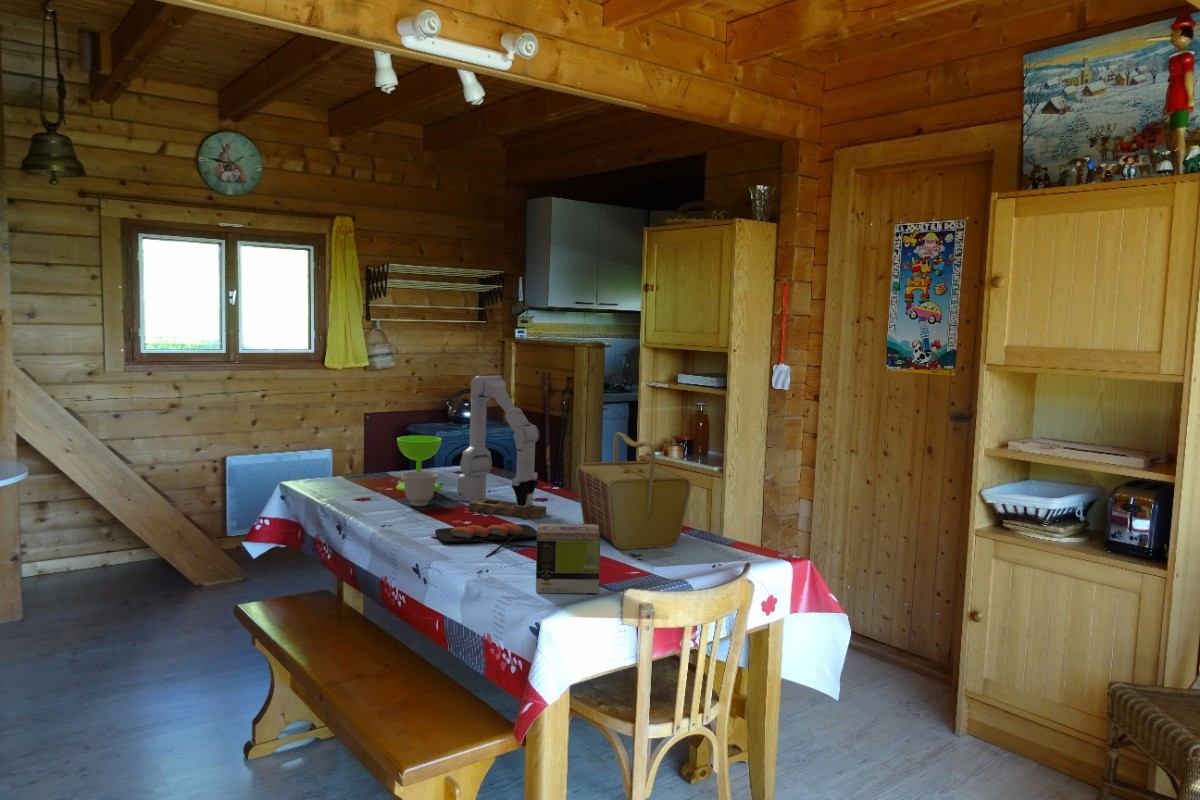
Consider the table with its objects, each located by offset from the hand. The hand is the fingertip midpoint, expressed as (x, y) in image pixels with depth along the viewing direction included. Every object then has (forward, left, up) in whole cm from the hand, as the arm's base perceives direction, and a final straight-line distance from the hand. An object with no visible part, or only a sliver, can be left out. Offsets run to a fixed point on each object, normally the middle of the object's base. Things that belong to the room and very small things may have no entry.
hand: (524, 504), depth 280 cm
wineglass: (-52, +19, -4) cm, 55 cm away
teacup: (-37, -3, -4) cm, 37 cm away
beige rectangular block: (0, 0, -3) cm, 3 cm away
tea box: (+42, -63, -4) cm, 76 cm away
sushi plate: (+8, -36, -4) cm, 37 cm away
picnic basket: (+40, -11, -4) cm, 42 cm away
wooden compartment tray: (-6, 0, -3) cm, 7 cm away
